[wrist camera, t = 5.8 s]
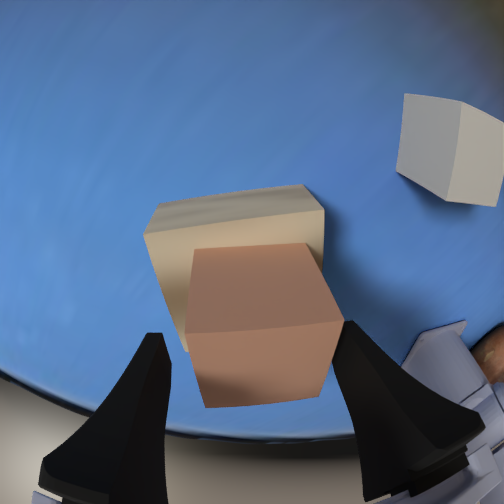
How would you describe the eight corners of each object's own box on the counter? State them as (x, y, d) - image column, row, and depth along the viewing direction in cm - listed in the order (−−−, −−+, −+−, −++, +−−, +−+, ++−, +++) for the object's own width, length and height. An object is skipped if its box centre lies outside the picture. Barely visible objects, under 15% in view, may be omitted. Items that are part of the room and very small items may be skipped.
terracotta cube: (295, 321, 15) (318, 396, 11) (205, 327, 15) (205, 407, 11) (305, 243, 13) (344, 319, 8) (194, 249, 12) (184, 333, 8)
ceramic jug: (437, 365, 29) (479, 445, 17) (510, 296, 25) (563, 365, 13) (454, 387, 37) (483, 443, 25) (509, 337, 32) (543, 389, 20)
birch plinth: (301, 292, 20) (317, 333, 16) (189, 308, 19) (185, 351, 16) (301, 182, 15) (324, 209, 12) (160, 201, 15) (143, 234, 12)
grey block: (447, 178, 16) (495, 207, 11) (394, 170, 15) (445, 200, 11) (457, 111, 13) (511, 127, 9) (403, 93, 13) (461, 101, 8)
